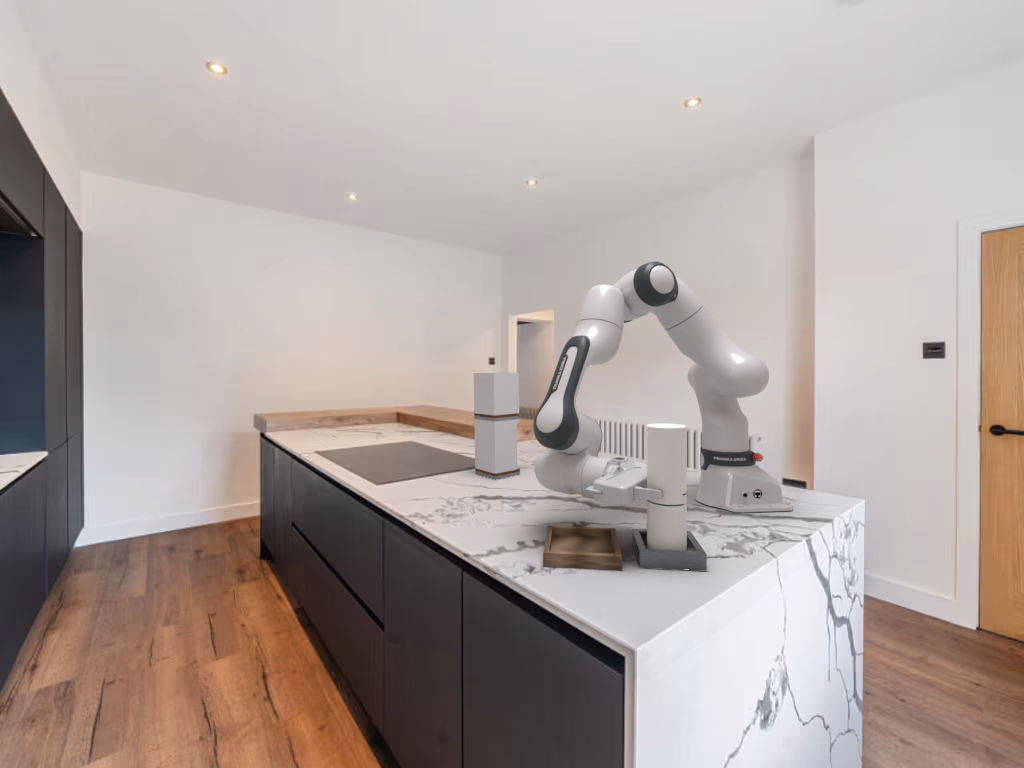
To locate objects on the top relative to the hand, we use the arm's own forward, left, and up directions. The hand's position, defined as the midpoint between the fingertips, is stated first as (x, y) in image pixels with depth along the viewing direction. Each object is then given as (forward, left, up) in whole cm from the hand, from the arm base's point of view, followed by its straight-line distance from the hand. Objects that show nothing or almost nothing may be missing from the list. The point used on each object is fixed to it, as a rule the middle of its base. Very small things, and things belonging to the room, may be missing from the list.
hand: (670, 489), depth 83 cm
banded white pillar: (+45, -62, -13) cm, 78 cm away
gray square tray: (+1, 0, -13) cm, 13 cm away
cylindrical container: (+1, 0, -13) cm, 13 cm away
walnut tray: (+17, 0, -13) cm, 21 cm away
